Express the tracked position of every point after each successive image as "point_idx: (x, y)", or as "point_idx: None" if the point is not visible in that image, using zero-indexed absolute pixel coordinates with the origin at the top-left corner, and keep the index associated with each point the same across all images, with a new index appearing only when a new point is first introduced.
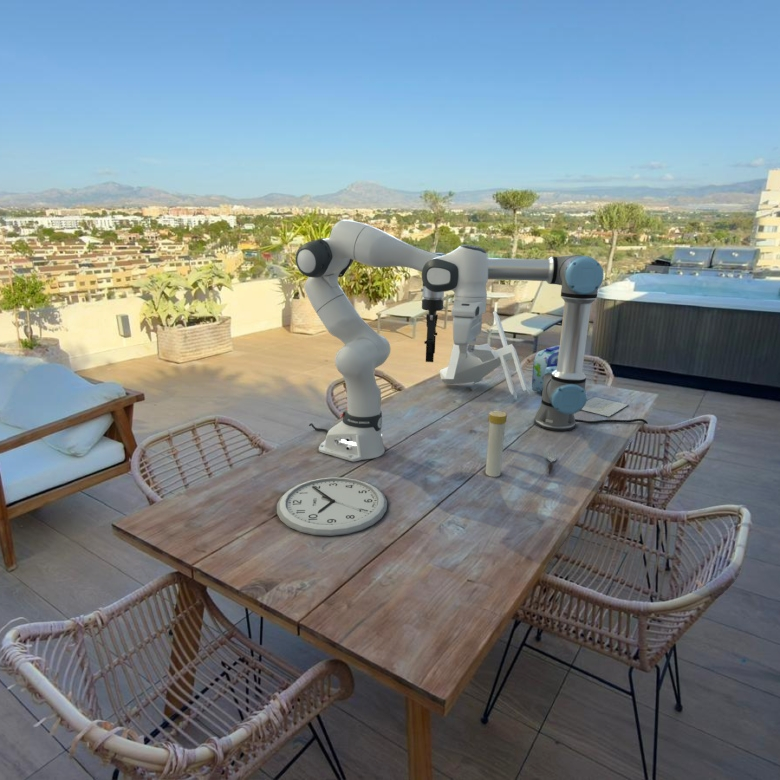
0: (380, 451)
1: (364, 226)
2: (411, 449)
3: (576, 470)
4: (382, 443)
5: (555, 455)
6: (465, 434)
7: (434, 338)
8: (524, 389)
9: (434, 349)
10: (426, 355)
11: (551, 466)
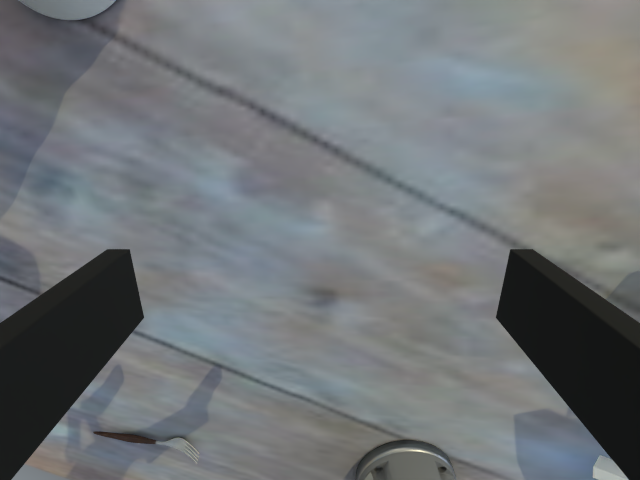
0: (26, 3)
1: None
2: (131, 118)
3: (145, 471)
4: (44, 2)
5: (188, 455)
6: (296, 277)
7: (621, 453)
8: (597, 474)
9: (517, 338)
10: (61, 289)
11: (130, 441)
